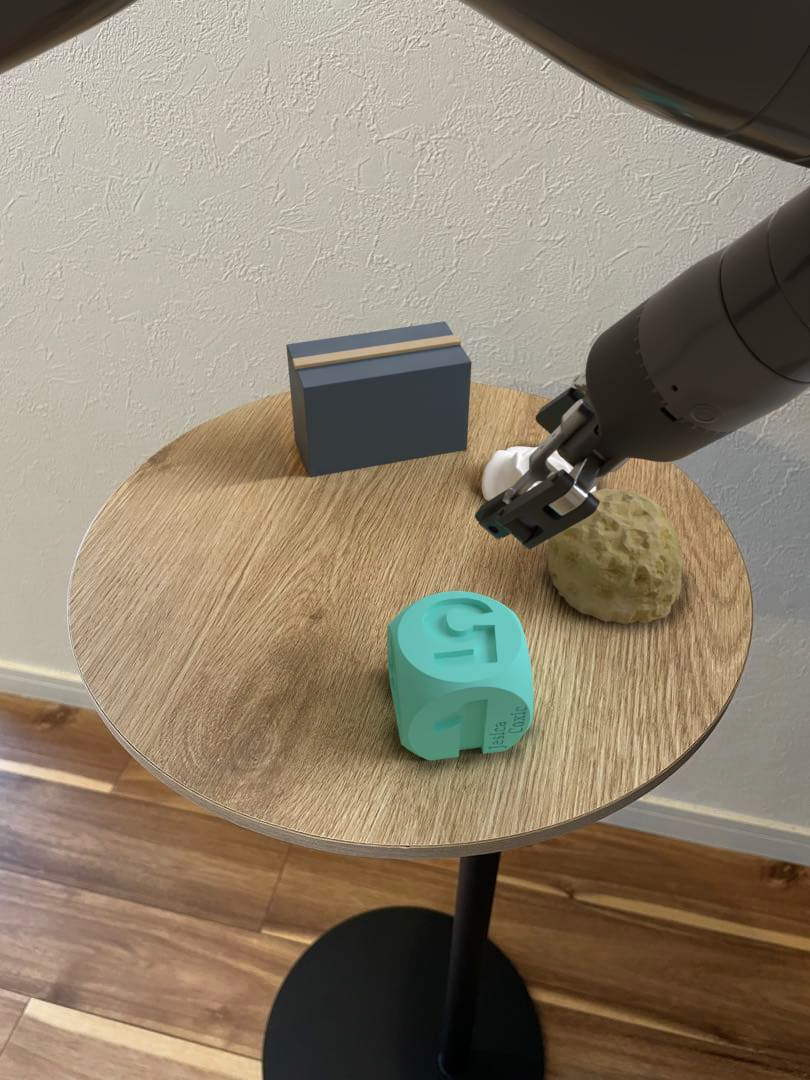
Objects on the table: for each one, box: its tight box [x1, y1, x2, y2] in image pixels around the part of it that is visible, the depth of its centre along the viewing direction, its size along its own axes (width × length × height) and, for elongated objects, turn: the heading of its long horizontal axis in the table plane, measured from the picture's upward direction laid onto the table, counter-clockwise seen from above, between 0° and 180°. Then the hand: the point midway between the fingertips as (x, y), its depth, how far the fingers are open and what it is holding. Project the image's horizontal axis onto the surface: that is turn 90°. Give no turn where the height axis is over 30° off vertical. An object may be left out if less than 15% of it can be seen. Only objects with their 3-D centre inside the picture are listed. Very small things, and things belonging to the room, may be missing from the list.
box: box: [286, 321, 473, 478], centre depth 83 cm, size 14×7×10 cm, turn 106°
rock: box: [547, 487, 685, 625], centre depth 71 cm, size 10×11×10 cm
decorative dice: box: [386, 590, 535, 761], centre depth 62 cm, size 8×8×8 cm
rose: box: [481, 445, 597, 502], centre depth 80 cm, size 10×4×10 cm
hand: (518, 473), depth 59 cm, fingers open, 8 cm apart
